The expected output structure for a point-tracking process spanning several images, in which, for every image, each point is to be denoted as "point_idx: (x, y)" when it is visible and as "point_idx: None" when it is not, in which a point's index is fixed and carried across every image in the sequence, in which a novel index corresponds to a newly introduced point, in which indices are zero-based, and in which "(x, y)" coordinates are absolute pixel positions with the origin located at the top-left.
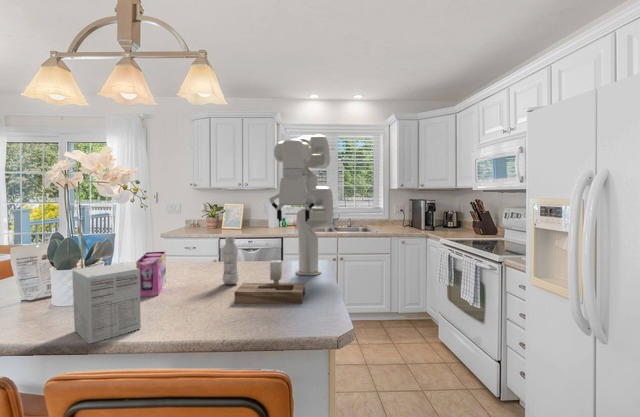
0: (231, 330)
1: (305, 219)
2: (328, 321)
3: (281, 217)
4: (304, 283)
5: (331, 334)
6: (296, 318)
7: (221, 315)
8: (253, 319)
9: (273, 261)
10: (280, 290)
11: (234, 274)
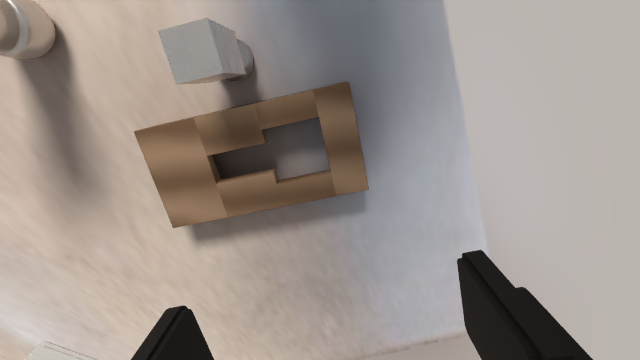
0: (277, 345)
1: (476, 343)
2: (452, 274)
3: (180, 348)
4: (347, 82)
5: (464, 327)
6: (379, 273)
7: (212, 290)
8: (290, 295)
9: (181, 59)
10: (296, 186)
11: (22, 37)
